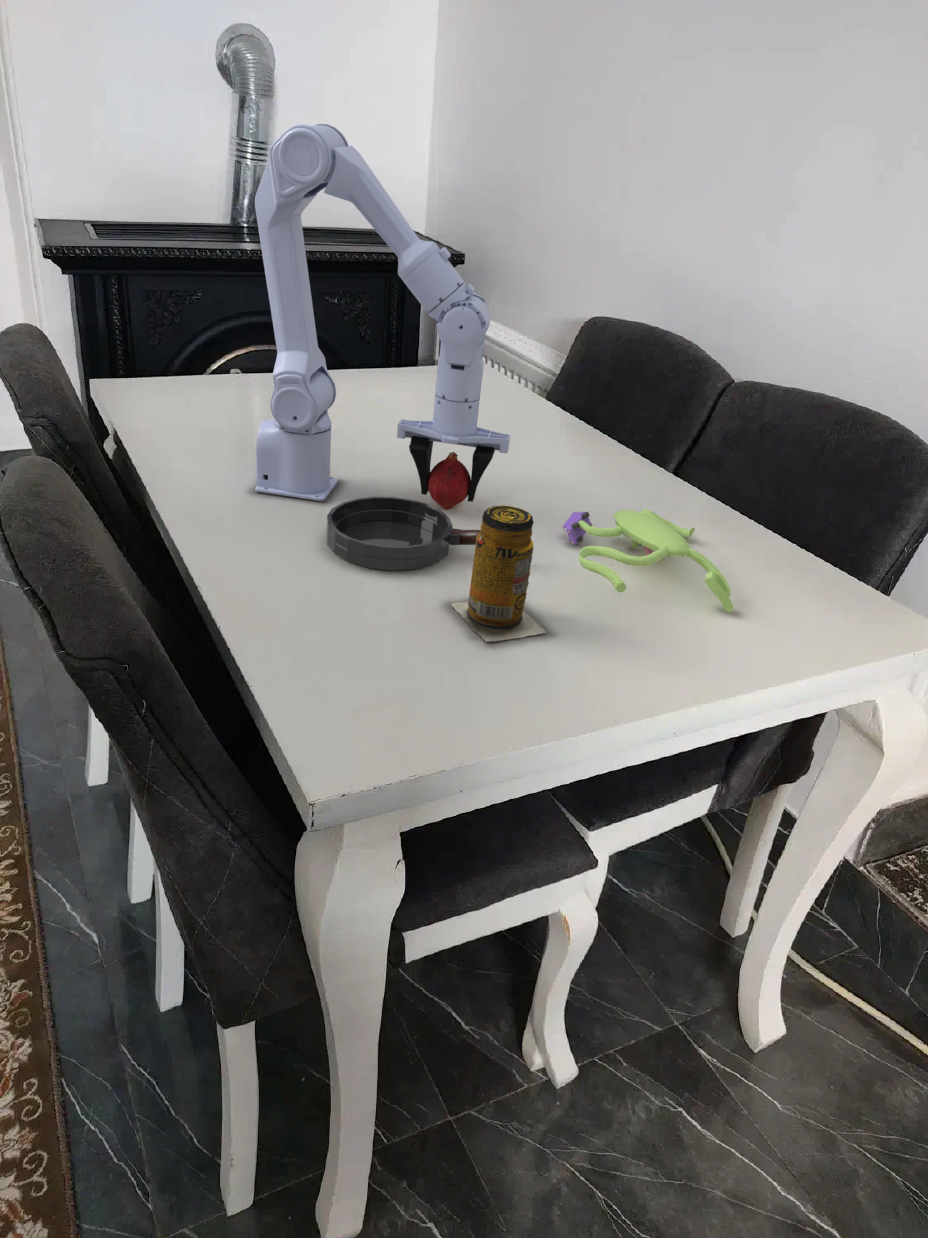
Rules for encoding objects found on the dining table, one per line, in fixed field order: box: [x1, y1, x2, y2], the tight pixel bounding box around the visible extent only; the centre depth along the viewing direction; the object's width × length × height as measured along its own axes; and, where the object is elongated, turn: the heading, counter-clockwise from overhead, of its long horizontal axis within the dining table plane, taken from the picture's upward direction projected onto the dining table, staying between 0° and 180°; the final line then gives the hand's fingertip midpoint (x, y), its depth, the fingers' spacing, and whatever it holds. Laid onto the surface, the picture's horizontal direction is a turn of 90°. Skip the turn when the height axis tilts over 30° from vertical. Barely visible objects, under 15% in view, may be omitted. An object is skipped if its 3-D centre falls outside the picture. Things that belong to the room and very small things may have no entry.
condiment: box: [450, 504, 547, 643], centre depth 96 cm, size 7×8×12 cm
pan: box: [326, 495, 454, 573], centre depth 112 cm, size 15×15×3 cm
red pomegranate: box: [428, 451, 471, 511], centre depth 122 cm, size 6×6×8 cm
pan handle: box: [449, 527, 481, 546], centre depth 110 cm, size 10×2×3 cm, turn 82°
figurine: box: [562, 508, 735, 613], centre depth 113 cm, size 18×27×6 cm
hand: (447, 495), depth 123 cm, fingers closed on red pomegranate, 6 cm apart
